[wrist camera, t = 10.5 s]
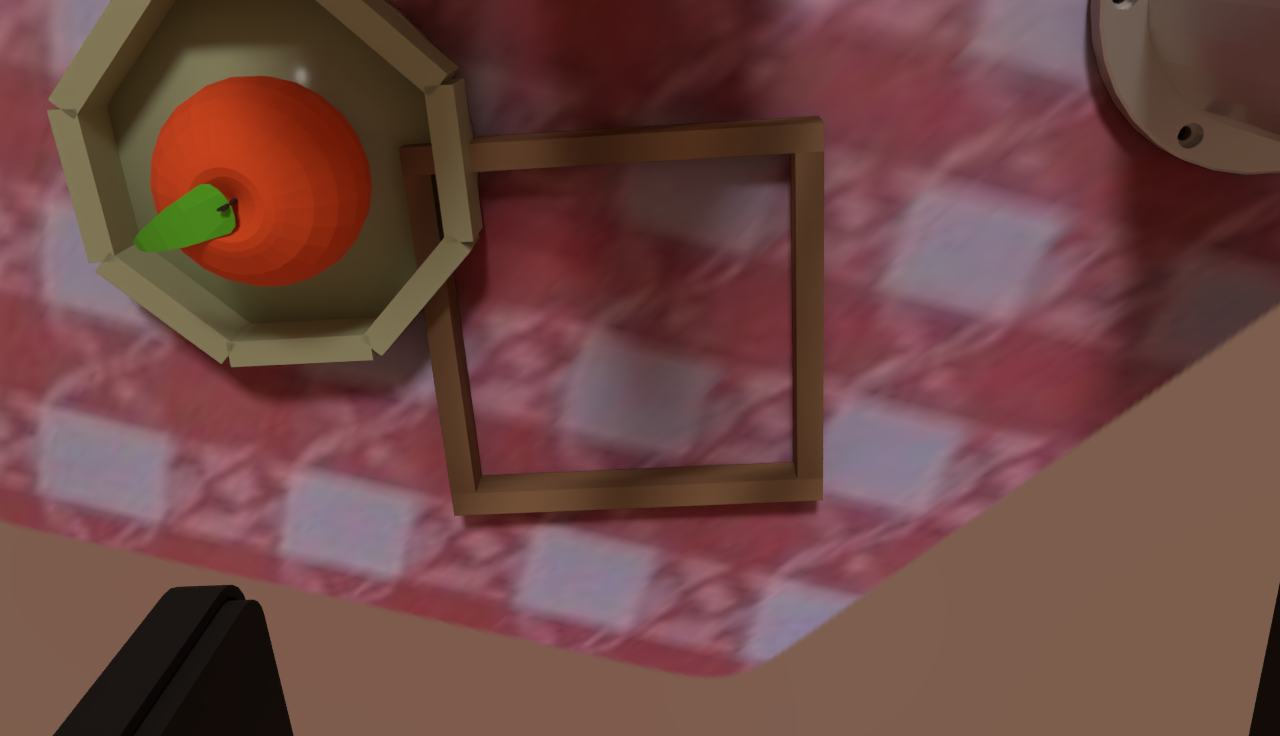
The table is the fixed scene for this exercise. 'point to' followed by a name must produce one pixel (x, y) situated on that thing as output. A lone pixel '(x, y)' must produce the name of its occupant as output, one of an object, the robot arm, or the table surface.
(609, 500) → the brown rectangular frame
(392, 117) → the dish
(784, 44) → the table surface
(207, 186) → the clementine
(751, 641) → the table surface
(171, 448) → the table surface
